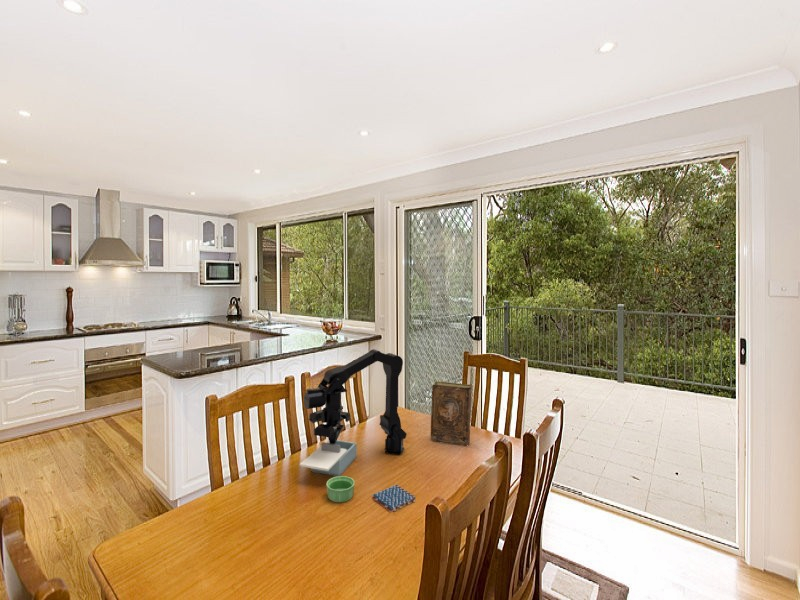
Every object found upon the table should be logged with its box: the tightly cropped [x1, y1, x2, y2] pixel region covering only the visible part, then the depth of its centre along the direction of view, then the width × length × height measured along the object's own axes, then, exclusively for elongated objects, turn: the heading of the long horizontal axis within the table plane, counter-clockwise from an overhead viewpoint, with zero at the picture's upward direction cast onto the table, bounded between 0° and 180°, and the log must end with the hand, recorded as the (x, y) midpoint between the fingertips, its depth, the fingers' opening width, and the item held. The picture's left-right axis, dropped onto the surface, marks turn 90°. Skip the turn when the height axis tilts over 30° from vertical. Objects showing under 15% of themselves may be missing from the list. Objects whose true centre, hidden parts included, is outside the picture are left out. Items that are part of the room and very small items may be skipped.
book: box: [430, 381, 472, 447], centre depth 173 cm, size 16×6×25 cm, turn 73°
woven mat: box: [371, 484, 416, 514], centre depth 127 cm, size 10×11×2 cm
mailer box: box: [310, 439, 358, 477], centre depth 150 cm, size 16×11×6 cm
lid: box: [299, 442, 347, 471], centre depth 142 cm, size 16×11×3 cm
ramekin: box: [326, 475, 355, 503], centre depth 129 cm, size 9×9×4 cm
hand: (332, 446), depth 148 cm, fingers closed
